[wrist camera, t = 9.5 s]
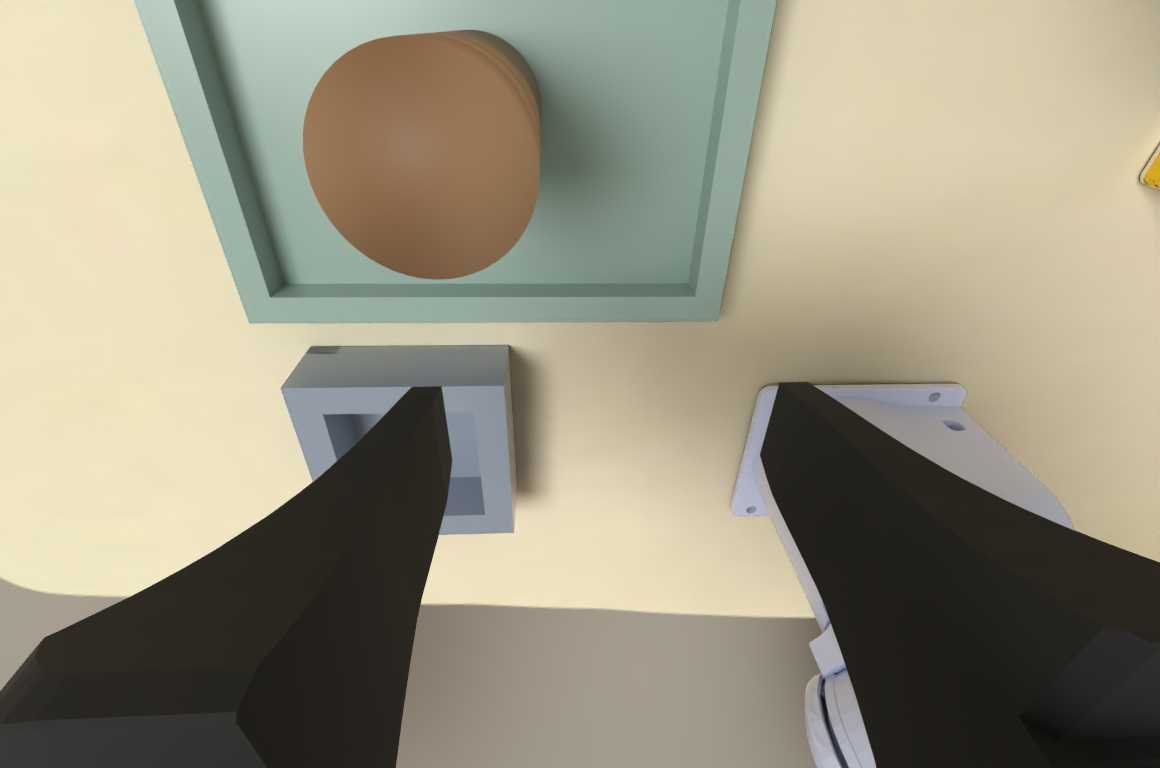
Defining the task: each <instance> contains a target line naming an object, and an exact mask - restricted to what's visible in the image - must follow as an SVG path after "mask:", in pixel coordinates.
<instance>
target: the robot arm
mask: <svg viewBox="0 0 1160 768" xmlns="http://www.w3.org/2000/svg"><path fill="white" fill-rule="evenodd" d="M933 393H934V394H933ZM931 394H933V395H932V396H930V395H931ZM966 394H967V392H966V389H964V388H963V387H962V386H961V385H960V384H871V385H811V384H809V383H807V382H792V383H779V386H767V387H765V388H763V389H762V390H761V391H760V392H759V394H758V398H757V402H756V406H755V410H754V414H753V418H752V422H751V426H750V430H749V434H748V437H747V441H746V445H745V449H744V453H743V457H742V461H741V465H740V469H739V473H738V477H737V481H736V485H735V489H734V493H733V497H732V501H731V505H730V506H731V510H732V513H733V514H734V515H736V516H766V515H770V518H771V520H772V522H773V524H774V526H775V529H776V531H777V533H778V535H779V537H780V540H781V542H782V544H783V546H784V549H785V551H786V553H787V555H788V557H789V560H790V562H791V564H792V566H793V568H794V571H795V573H796V575H797V577H798V579H799V582H800V584H801V586H802V588H803V591H804V593H805V595H806V597H807V599H808V602H809V604H810V606H811V608H812V610H813V613H814V615H815V617H816V619H817V621H818V624H819V626H820V628H821V630H822V633H823V634H822V635H820V636H819V637H818V638H816V639H815V640H813V641H812V642H810V644H809V645H810V648H811V650H812V652H813V655H814V657H815V659H816V662H817V664H818V667H819V669H820V671H821V673H820V674H818V675H816V676H814V677H813V678H812V679H811V680H810V681H809V682H808V684H807V687H806V694H805V708H806V711H805V724H806V731H807V736H808V740H809V745H810V748H811V751H812V755H813V757H814V761H815V763H816V766H817V768H1160V562H1157V561H1154V560H1151V559H1148V558H1146V557H1143V556H1140V555H1137V554H1135V553H1132V552H1129V551H1127V550H1124V549H1121V548H1118V547H1116V546H1113V545H1110V544H1108V543H1105V542H1102V541H1100V540H1097V539H1095V538H1092V537H1090V536H1087V535H1085V534H1082V533H1080V532H1077V531H1076V530H1075V528H1074V526H1073V523H1072V521H1071V519H1070V517H1069V516H1068V514H1067V512H1066V511H1065V509H1064V507H1063V506H1062V505H1061V503H1060V502H1059V501H1058V499H1057V498H1056V497H1055V496H1054V495H1053V494H1052V493H1051V492H1050V491H1049V490H1048V489H1047V488H1046V487H1045V486H1044V485H1043V484H1042V483H1041V482H1040V481H1039V480H1038V479H1037V478H1036V477H1034V476H1033V475H1032V474H1031V473H1030V472H1029V471H1028V470H1027V469H1026V468H1025V467H1024V466H1023V465H1022V464H1021V463H1019V462H1018V461H1017V460H1016V459H1015V458H1014V457H1013V456H1012V455H1011V454H1010V453H1009V452H1008V451H1007V450H1006V449H1004V448H1003V447H1002V446H1001V445H1000V444H999V443H998V442H997V441H996V440H995V439H994V438H993V437H992V436H990V435H989V434H988V433H987V432H986V431H985V430H984V429H983V428H982V427H981V426H980V425H979V424H978V423H977V422H975V421H974V420H973V419H972V418H971V417H970V416H969V415H968V414H967V413H966V412H965V411H964V410H963V409H962V408H960V407H961V405H962V403H963V401H964V399H965V397H966ZM451 468H452V454H451V447H450V440H449V434H448V427H447V420H446V413H445V406H444V399H443V392H442V386H427V387H411V388H410V389H409V390H408V391H407V392H406V393H405V394H404V395H403V396H402V397H401V398H400V399H399V400H398V401H397V402H396V403H395V404H394V405H393V407H392V408H391V409H390V410H389V411H388V412H387V413H386V414H385V415H384V416H383V417H382V418H381V419H380V420H379V421H378V422H377V423H376V424H375V425H374V426H373V427H372V428H371V429H370V430H369V431H368V432H367V433H366V434H365V435H364V436H363V437H362V438H361V439H360V440H359V441H358V442H357V443H356V444H355V445H354V446H353V447H352V448H351V449H350V450H349V451H348V452H347V453H345V454H344V455H343V456H342V457H341V458H340V459H339V460H338V461H336V462H335V463H334V464H333V465H332V466H331V467H330V468H329V469H328V470H326V471H325V472H324V473H323V474H322V475H321V476H320V477H318V478H317V479H316V480H315V481H314V482H312V483H311V484H310V485H309V486H307V487H306V488H305V489H303V490H302V491H301V492H300V493H298V494H297V495H296V496H294V497H293V498H292V499H290V500H289V501H288V502H286V503H285V504H284V505H282V506H281V507H279V508H278V509H277V510H275V511H274V512H273V513H271V514H270V515H268V516H267V517H265V518H264V519H262V520H261V521H259V522H258V523H256V524H255V525H253V526H252V527H250V528H248V529H247V530H245V531H244V532H242V533H241V534H239V535H238V536H236V537H235V538H233V539H231V540H230V541H228V542H227V543H225V544H224V545H222V546H221V547H219V548H218V549H216V550H214V551H213V552H211V553H209V554H207V555H206V556H204V557H202V558H201V559H199V560H197V561H195V562H194V563H192V564H190V565H188V566H187V567H185V568H183V569H181V570H180V571H178V572H176V573H174V574H172V575H170V576H169V577H167V578H165V579H163V580H161V581H159V582H158V583H156V584H154V585H152V586H150V587H148V588H146V589H144V590H142V591H140V592H139V593H137V594H135V595H133V596H131V597H129V598H127V599H125V600H123V601H121V602H118V603H116V604H114V605H112V606H110V607H108V608H106V609H104V610H102V611H100V612H98V613H96V614H94V615H92V616H89V617H87V618H85V619H83V620H81V621H79V622H77V623H75V624H73V625H71V626H69V627H67V628H65V629H62V630H60V631H58V632H56V633H54V634H51V635H49V636H47V637H45V638H44V639H43V640H42V641H41V642H40V644H39V645H38V646H37V647H36V648H35V649H34V651H33V652H32V653H31V654H30V655H29V657H28V658H27V659H26V660H25V662H24V663H23V664H22V665H21V667H20V668H19V669H18V670H17V671H16V673H15V674H14V675H13V676H12V678H11V679H10V680H9V681H8V683H7V684H6V685H5V686H4V687H3V689H2V690H1V691H0V768H396V760H397V753H398V746H399V738H400V737H399V736H400V730H401V722H402V715H403V708H404V701H405V694H406V687H407V680H408V673H409V667H410V660H411V654H412V647H413V641H414V636H415V629H416V622H417V617H418V613H419V608H420V604H421V599H422V595H423V591H424V588H425V584H426V580H427V576H428V573H429V569H430V565H431V561H432V558H433V554H434V550H435V547H436V543H437V539H438V535H439V531H440V528H441V524H442V520H443V516H444V512H445V508H446V504H447V499H448V492H449V484H450V476H451ZM751 506H752V507H751Z"/></svg>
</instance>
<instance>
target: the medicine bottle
mask: <svg viewBox="0 0 1160 768" xmlns="http://www.w3.org/2000/svg"><path fill="white" fill-rule="evenodd" d="M1140 180H1141V182H1142V183H1143V184H1145V185H1147V186H1150V187H1154V188H1157V189H1160V145H1159V147H1158V148H1157V150H1156V151H1155V153H1154V155H1153V156H1152V158H1151V159H1150V161H1149V162H1148V164H1147V165H1146V167H1145V168H1144V170H1143V172H1142V173H1141V176H1140Z"/></svg>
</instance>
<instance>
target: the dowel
mask: <svg viewBox="0 0 1160 768" xmlns="http://www.w3.org/2000/svg"><path fill="white" fill-rule="evenodd" d="M540 139H541V98H540V91H539V88H538V84H537V81H536V79H535V76H534V74H533V72H532V70H531V68H530V66H529V64H528V63H527V62H526V60H525V59H524V57H523V56H522V55H521V54H520V53H519V52H518V51H517V50H516V49H515V48H514V47H513V46H512V45H511V44H509V43H508V42H506V41H505V40H503V39H502V38H500V37H498V36H496V35H494V34H491V33H488V32H484V31H479V30H457V31H445V32H433V33H422V34H410V35H398V36H390V37H384V38H378V39H375V40H372V41H369V42H366V43H363V44H361V45H359V46H357V47H355V48H353V49H352V50H350V51H348V52H346V53H345V54H344V55H343V56H341V57H340V58H339V59H338V60H336V61H335V62H334V63H333V64H332V65H331V66H330V67H329V69H328V70H327V71H326V72H325V73H324V74H323V76H322V77H321V79H320V81H319V82H318V84H317V85H316V87H315V89H314V91H313V93H312V96H311V98H310V100H309V103H308V107H307V111H306V114H305V119H304V127H303V153H304V160H305V167H306V170H307V174H308V178H309V181H310V184H311V186H312V189H313V191H314V194H315V196H316V198H317V200H318V202H319V204H320V206H321V208H322V209H323V211H324V213H325V214H326V216H327V217H328V219H329V220H330V221H331V223H332V224H333V226H334V227H335V228H336V229H337V230H338V231H339V233H340V234H341V235H342V236H343V237H344V238H345V239H346V240H347V241H348V242H349V243H350V244H351V245H352V246H354V247H355V248H356V249H357V250H358V251H360V252H361V253H362V254H364V255H365V256H366V257H368V258H370V259H371V260H373V261H375V262H376V263H378V264H380V265H382V266H384V267H386V268H388V269H390V270H393V271H395V272H398V273H401V274H404V275H407V276H412V277H417V278H422V279H433V280H439V279H453V278H460V277H464V276H467V275H471V274H474V273H477V272H479V271H481V270H483V269H486V268H487V267H489V266H491V265H492V264H494V263H496V262H497V261H499V260H500V259H501V258H502V257H503V256H505V255H506V254H507V253H508V252H509V251H510V250H511V249H512V248H513V247H514V246H515V244H516V243H517V242H518V241H519V239H520V238H521V236H522V235H523V233H524V232H525V230H526V228H527V226H528V224H529V222H530V220H531V217H532V214H533V212H534V209H535V205H536V201H537V196H538V189H539V174H540Z"/></svg>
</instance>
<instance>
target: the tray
mask: <svg viewBox="0 0 1160 768" xmlns="http://www.w3.org/2000/svg"><path fill="white" fill-rule="evenodd" d="M134 1H135V4H136V7H137V10H138V13H139V15H140V18H141V21H142V24H143V27H144V29H145V32H146V35H147V38H148V41H149V43H150V46H151V49H152V52H153V55H154V57H155V60H156V63H157V66H158V69H159V71H160V74H161V77H162V80H163V83H164V85H165V88H166V91H167V94H168V97H169V99H170V102H171V105H172V108H173V111H174V114H175V116H176V119H177V122H178V125H179V128H180V130H181V133H182V136H183V139H184V142H185V144H186V147H187V150H188V153H189V156H190V158H191V161H192V164H193V167H194V170H195V172H196V175H197V178H198V181H199V184H200V186H201V189H202V192H203V195H204V198H205V200H206V203H207V206H208V209H209V212H210V214H211V217H212V220H213V223H214V226H215V228H216V231H217V234H218V237H219V240H220V242H221V245H222V248H223V251H224V254H225V256H226V259H227V262H228V265H229V268H230V270H231V273H232V276H233V279H234V282H235V284H236V287H237V290H238V293H239V296H240V298H241V301H242V304H243V307H244V310H245V312H246V315H247V318H248V321H249V323H446V322H671V321H718V318H719V312H720V307H721V302H722V296H723V291H724V285H725V280H726V274H727V269H728V263H729V258H730V252H731V247H732V242H733V236H734V231H735V225H736V220H737V214H738V209H739V203H740V198H741V192H742V187H743V182H744V176H745V171H746V165H747V160H748V154H749V149H750V143H751V138H752V132H753V127H754V122H755V116H756V111H757V105H758V100H759V94H760V89H761V83H762V78H763V73H764V67H765V62H766V56H767V51H768V45H769V40H770V34H771V29H772V23H773V18H774V13H775V7H776V2H777V0H134ZM457 30H479V31H484V32H488V33H491V34H494V35H496V36H498V37H500V38H502V39H503V40H505V41H506V42H508V43H509V44H511V45H512V46H513V47H514V48H515V49H516V50H517V51H518V52H519V53H520V54H521V55H522V56H523V57H524V59H525V60H526V62H527V63H528V64H529V66H530V68H531V70H532V72H533V74H534V76H535V79H536V81H537V84H538V88H539V91H540V98H541V139H540V174H539V189H538V196H537V201H536V205H535V209H534V212H533V214H532V217H531V220H530V222H529V224H528V226H527V228H526V230H525V232H524V233H523V235H522V236H521V238H520V239H519V241H518V242H517V243H516V244H515V246H514V247H513V248H512V249H511V250H510V251H509V252H508V253H507V254H506V255H505V256H503V257H502V258H501V259H500V260H499V261H497V262H496V263H494V264H492V265H491V266H489V267H487V268H486V269H483V270H481V271H479V272H477V273H474V274H471V275H467V276H464V277H460V278H453V279H439V280H433V279H422V278H417V277H412V276H407V275H404V274H401V273H398V272H395V271H393V270H390V269H388V268H386V267H384V266H382V265H380V264H378V263H376V262H375V261H373V260H371V259H370V258H368V257H366V256H365V255H364V254H362V253H361V252H360V251H358V250H357V249H356V248H355V247H354V246H352V245H351V244H350V243H349V242H348V241H347V240H346V239H345V238H344V237H343V236H342V235H341V234H340V233H339V231H338V230H337V229H336V228H335V227H334V226H333V224H332V223H331V221H330V220H329V219H328V217H327V216H326V214H325V213H324V211H323V209H322V208H321V206H320V204H319V202H318V200H317V198H316V196H315V194H314V191H313V189H312V186H311V184H310V181H309V178H308V174H307V170H306V167H305V160H304V153H303V127H304V119H305V114H306V111H307V107H308V103H309V100H310V98H311V96H312V93H313V91H314V89H315V87H316V85H317V84H318V82H319V81H320V79H321V77H322V76H323V74H324V73H325V72H326V71H327V70H328V69H329V67H330V66H331V65H332V64H333V63H334V62H335V61H336V60H338V59H339V58H340V57H341V56H343V55H344V54H345V53H346V52H348V51H350V50H352V49H353V48H355V47H357V46H359V45H361V44H363V43H366V42H369V41H372V40H375V39H378V38H384V37H390V36H398V35H410V34H422V33H433V32H445V31H457Z"/></svg>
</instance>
